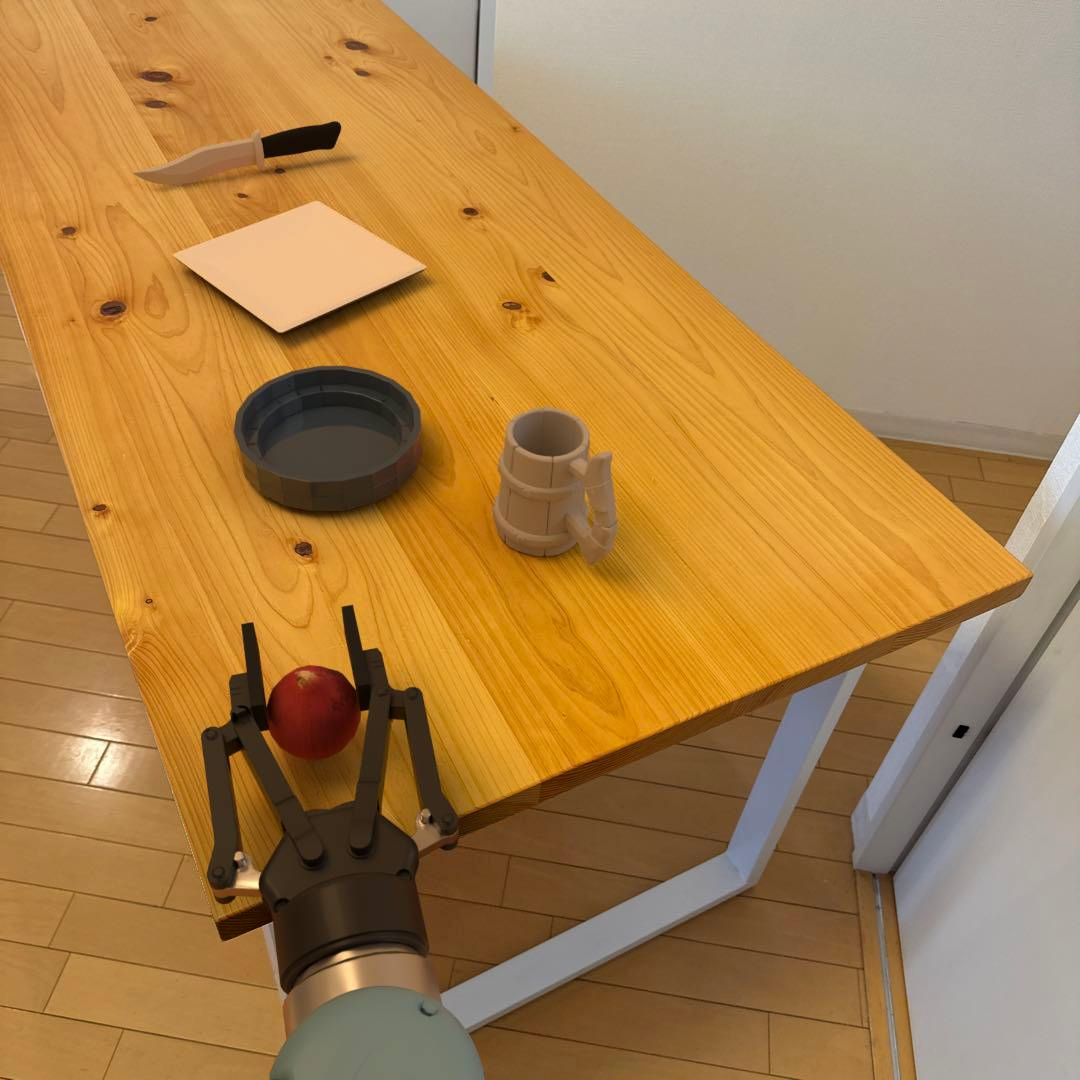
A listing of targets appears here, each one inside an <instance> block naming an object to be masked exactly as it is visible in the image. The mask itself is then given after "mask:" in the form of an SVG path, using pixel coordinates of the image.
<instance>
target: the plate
mask: <svg viewBox="0 0 1080 1080" xmlns="http://www.w3.org/2000/svg"><path fill="white" fill-rule="evenodd" d="M172 256H173V258H174V259H176V260H177V261H178V262H179V263H181V264H182V265H183V266H185V267H186V268H187V269H189V270H190V271H192V272H193V273H194V274H196V275H197V276H198V277H200V278H202V279H203V280H204V281H205V282H207V283H208V284H210V285H211V286H212V287H214V288H215V289H217V290H218V291H219V292H221V293H222V294H223V295H225V296H226V297H228V298H229V299H230V300H232V301H233V302H235V303H236V304H237V305H239V307H242V308H243V309H245V311H247V312H249V313H250V314H251V315H253V316H254V317H255V318H257V319H258V320H260V321H261V323H264V324H265V325H266V326H268V328H269V327H270V328H271V329H272V330H273V331H275V332H276V333H277V334H279V335H284V334H286V333H289V332H292V331H294V330H296V329H298V328H300V327H302V326H304V325H307V324H309V323H311V322H314V321H317V320H318V319H320V318H322V317H325V316H327V315H329V314H331V313H333V312H336V311H338V310H341V309H342V308H345V307H347V306H350V305H351V304H354V303H356V302H358V301H360V300H363V299H366V298H367V297H369V296H371V295H373V294H376V293H378V292H381V291H383V290H384V289H387V288H389V287H391V286H393V285H396V284H398V283H400V282H402V281H405V280H408V279H409V278H412V277H414V276H416V275H418V274H421V273H423V272H424V271H425V270H426V269H427V265H425V263H422V262H421V261H419V260H418V259H416V258H414V257H413V256H410V255H408V254H407V253H405V252H404V251H402V250H400V249H399V248H397V247H396V246H394V245H392V244H391V243H389V242H388V241H386V240H384V239H383V238H381V237H379V236H378V235H376V234H374V233H372V232H371V231H369V230H368V229H366V228H365V227H362V226H361V225H360V224H358V223H356V222H355V221H353V220H351V219H349V218H348V217H347V216H344V215H343V214H341V213H340V212H338V211H336V210H335V209H334V208H333V209H332V207H329V206H328V205H327V204H324V203H323V202H322V201H319V200H314V201H311V202H308V203H305V204H303V205H300V206H297V207H295V208H293V209H290V210H287V211H284V212H281V213H279V214H276V215H273V216H270V217H268V218H265V219H262V220H260V221H258V222H254V223H252V224H249V225H247V226H244V227H241V228H239V229H236V230H233V231H229V232H228V233H225V234H223V235H220V236H217V237H215V238H211V239H209V240H206V241H204V242H201V243H198V244H195V245H193V246H190V247H187V248H185V249H182V250H180V251H177V252H175V253H173V255H172Z"/></svg>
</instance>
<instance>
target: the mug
mask: <svg viewBox="0 0 1080 1080" xmlns="http://www.w3.org/2000/svg"><path fill="white" fill-rule="evenodd" d="M590 434H591V433H590V430H589V428H588V426H587V424H586V423H585V422H584V421H583V419H581V418H580V417H578V416H576V415H574V414H572V413H570V412H569V411H567V410H565V409H561V408H557V407H553V406H543V407H542V406H539V407H533V408H530V409H529V410H528V411H526V412H521V413H518V414H516V415H514V416H513V417H512V418H511V420H509V421H508V423H507V425H506V427H505V434H504V447H503V450H501V452H500V454H499V459H498V463H497V472H498V473H499V475H500V483H499V491H498V492H497V494H496V496H495V499H494V502H493V507H492V516H493V520H494V523H495V525H496V530H497V533H498V535H499V537H500V538H501V541H503V542H505V544H506V545H507V546H508V547H509V548H511V549H513V550H515V551H516V552H520V553H523V554H525V555H529V556H533V557H544V556H545V557H553V556H557V555H560V554H564V553H565V552H567V551H570V550H571V549H572V548H573V547H574V546H575V545H576V544H577V545H578V546H579V548H580V551H581V553H582V556H583V557H584V559H585V561H586V563H587V564H588V565H589V566H594V565H595V564H597V563H599V562H600V561H601V560H602V559H604V558H606V557H608V556H609V555H610V554H611V552H612V551H613V549H614V542H615V539H616V536H617V532H618V529H619V520H618V519H617V508H616V507H617V506H616V497H615V492H614V484H613V481H614V479H613V478H612V460H613V451H611V450H608V451H604V452H599V453H595V454H594V455H593V456H592V457H590V445H591V435H590ZM586 494H587V499H588V502H589V503H588V502H587V501H586ZM588 504H589V505H590V507H589V505H588ZM590 508H591V509H592V510H593V515H594V516H593V521H592V527H591V526H590V524H589V523H588V519H589V512H590Z"/></svg>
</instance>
